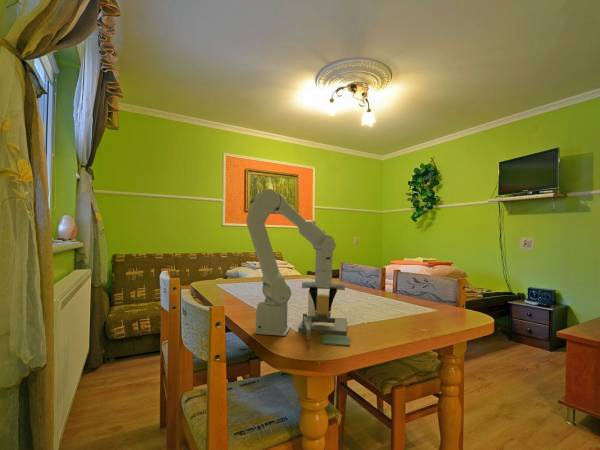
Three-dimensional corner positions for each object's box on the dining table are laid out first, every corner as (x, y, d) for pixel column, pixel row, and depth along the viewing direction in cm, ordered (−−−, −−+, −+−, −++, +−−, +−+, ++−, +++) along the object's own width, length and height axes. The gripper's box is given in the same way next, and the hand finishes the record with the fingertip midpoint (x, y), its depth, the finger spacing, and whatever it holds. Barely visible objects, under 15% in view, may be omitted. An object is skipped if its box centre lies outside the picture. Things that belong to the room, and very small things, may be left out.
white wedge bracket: (301, 313, 103) (308, 290, 107) (314, 321, 110) (321, 299, 114) (309, 315, 101) (316, 291, 105) (322, 323, 108) (329, 301, 111)
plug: (314, 317, 96) (314, 296, 97) (315, 313, 102) (316, 293, 102) (330, 318, 96) (330, 297, 96) (330, 314, 101) (331, 294, 101)
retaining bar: (302, 322, 96) (302, 313, 96) (306, 322, 96) (307, 313, 96) (306, 339, 80) (306, 328, 81) (311, 339, 81) (311, 328, 81)
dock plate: (298, 331, 91) (298, 328, 91) (304, 319, 105) (304, 315, 105) (346, 335, 88) (346, 331, 88) (346, 321, 102) (346, 318, 102)
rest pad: (321, 344, 81) (321, 342, 81) (323, 335, 88) (323, 334, 88) (349, 346, 80) (349, 344, 80) (349, 337, 87) (349, 336, 87)
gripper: (345, 269, 102) (344, 308, 101) (304, 267, 104) (303, 306, 104) (345, 272, 95) (344, 314, 94) (301, 270, 97) (300, 311, 97)
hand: (322, 310), depth 99 cm, fingers closed on plug, 4 cm apart
